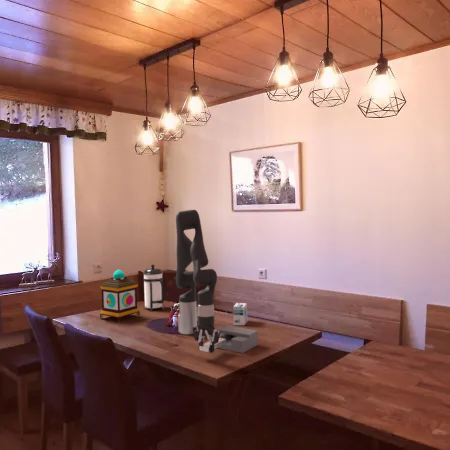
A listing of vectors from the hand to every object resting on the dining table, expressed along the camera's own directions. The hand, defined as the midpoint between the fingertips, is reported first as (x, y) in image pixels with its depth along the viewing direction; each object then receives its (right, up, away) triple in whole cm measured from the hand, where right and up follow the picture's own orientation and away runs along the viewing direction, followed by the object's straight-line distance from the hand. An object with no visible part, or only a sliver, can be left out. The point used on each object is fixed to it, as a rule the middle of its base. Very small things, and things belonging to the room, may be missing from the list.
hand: (206, 351), depth 197 cm
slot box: (+12, -2, +18) cm, 22 cm away
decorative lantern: (-57, -1, +77) cm, 96 cm away
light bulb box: (+17, -1, +59) cm, 62 cm away
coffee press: (-38, 0, +98) cm, 105 cm away
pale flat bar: (+3, +1, +4) cm, 5 cm away
